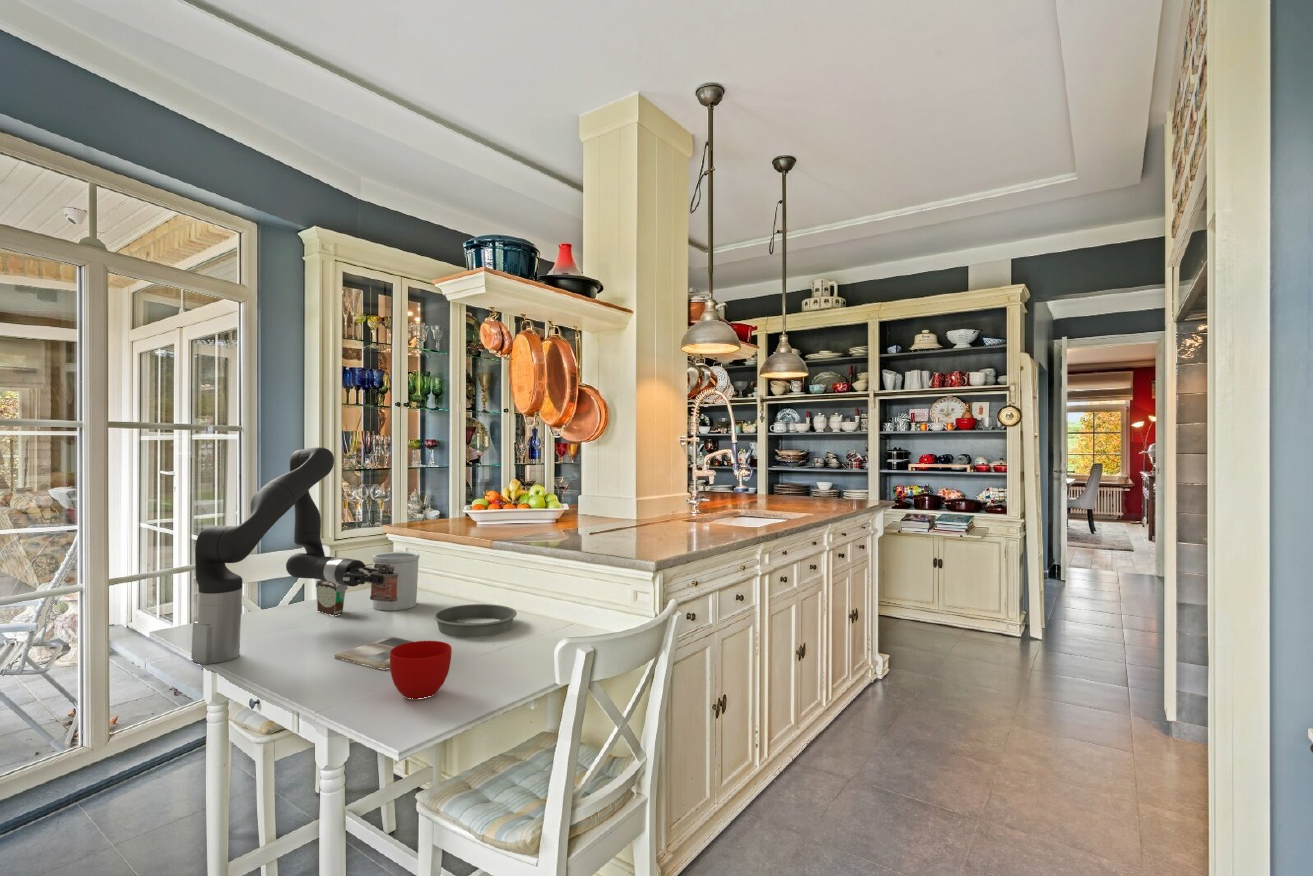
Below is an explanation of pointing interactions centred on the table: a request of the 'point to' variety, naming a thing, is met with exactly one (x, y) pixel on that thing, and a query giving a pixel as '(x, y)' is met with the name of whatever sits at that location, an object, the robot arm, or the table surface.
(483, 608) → the cake pan
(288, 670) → the table surface
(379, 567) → the lighter
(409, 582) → the utensil holder
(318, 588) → the food container
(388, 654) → the book
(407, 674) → the red bowl
